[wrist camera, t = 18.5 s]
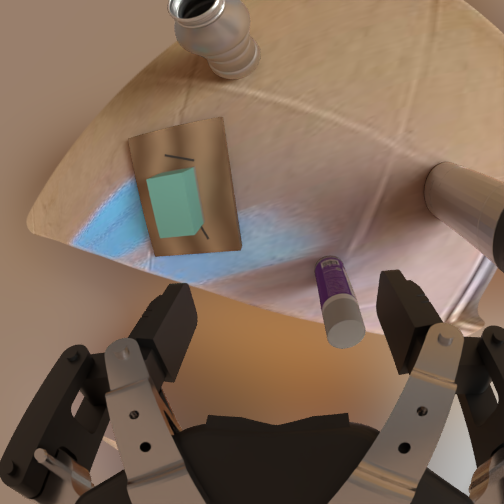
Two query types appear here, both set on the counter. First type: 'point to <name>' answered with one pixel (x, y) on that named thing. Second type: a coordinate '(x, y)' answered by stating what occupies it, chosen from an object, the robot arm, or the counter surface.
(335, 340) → the container
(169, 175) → the block
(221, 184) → the oak board
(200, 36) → the plastic bottle
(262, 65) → the counter surface
